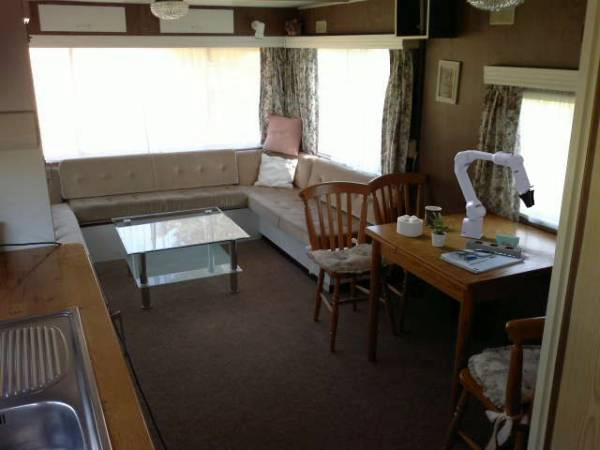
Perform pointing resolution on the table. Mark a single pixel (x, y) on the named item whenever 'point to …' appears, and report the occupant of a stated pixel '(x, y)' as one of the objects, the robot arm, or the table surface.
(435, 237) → the house plant
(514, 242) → the teal rectangular block
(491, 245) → the rail
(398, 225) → the lumpy-topped squat cylinder
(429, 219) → the coffee mug
